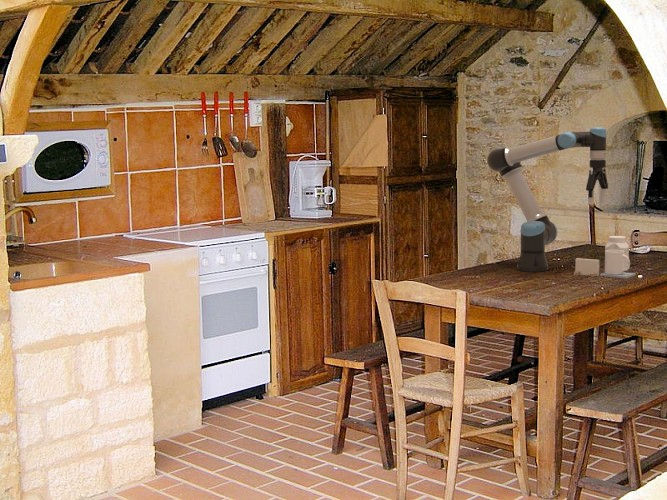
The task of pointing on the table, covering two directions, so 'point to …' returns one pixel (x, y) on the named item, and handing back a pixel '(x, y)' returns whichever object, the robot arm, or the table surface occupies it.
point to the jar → (619, 246)
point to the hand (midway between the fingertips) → (596, 203)
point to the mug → (615, 262)
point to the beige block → (587, 267)
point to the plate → (624, 275)
